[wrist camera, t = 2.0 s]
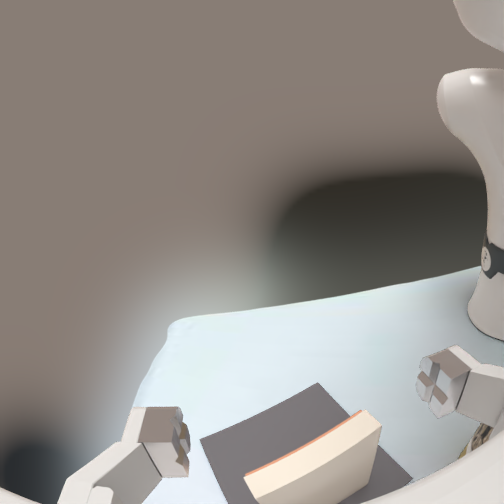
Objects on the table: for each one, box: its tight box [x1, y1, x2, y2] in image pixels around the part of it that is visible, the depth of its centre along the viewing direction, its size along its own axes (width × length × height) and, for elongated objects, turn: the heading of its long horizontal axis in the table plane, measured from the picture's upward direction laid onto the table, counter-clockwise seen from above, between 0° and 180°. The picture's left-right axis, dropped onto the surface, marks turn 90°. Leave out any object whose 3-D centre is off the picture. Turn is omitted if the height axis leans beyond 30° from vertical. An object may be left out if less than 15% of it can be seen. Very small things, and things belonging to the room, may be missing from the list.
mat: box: [200, 383, 413, 504], centre depth 27 cm, size 20×18×1 cm
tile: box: [243, 410, 382, 504], centre depth 19 cm, size 2×10×14 cm, turn 114°
